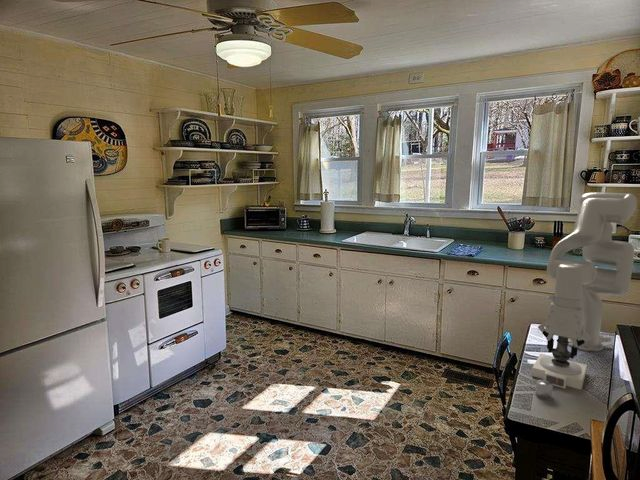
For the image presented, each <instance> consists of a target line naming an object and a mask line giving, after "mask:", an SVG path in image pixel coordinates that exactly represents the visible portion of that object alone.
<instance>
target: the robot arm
mask: <svg viewBox="0 0 640 480" xmlns="http://www.w3.org/2000/svg"><path fill="white" fill-rule="evenodd" d="M636 197H637V196H635V195H634V194H632V193H624V192H598V191H597V192H587V193H586V192H585V193H584V194H582V195H581V197H580V198H579V209H578V213H577V216H576V219H575V222H574V225H573V228H572V229H573V230H572V232H571V233H570V234H568V235H566V236H565V237H563V238H562V239H560V240H559V241H558V242H557V243H556V244H555V246H553V247H552V250H551V252H550V254H549V255H550V256H549V258H548V262H547V266H546V273H547V276H548V277H549V278H551V279H552V280H555V284H554V294H553V295H549V296H548V300H551V301H552V302H551V303H550V304H549V308H548V310H547V315H546V321H544V322H542V323H540V324H539V325H538V326H537V328H538V329H539V331H540V332H541V333H542V335H543V336H544V337H545V339H546V340H547V343H546V344H547V345H546V349H548V351H547V353H552V351H551V350H552V349H554V345H555V343H554V342H555V339H554V336H557V337H558V336H561V337H565V338H568V342H569V343H568V346H570V347H571V348H570V349H571V350H570V352H571V356H570V358H571V359H574V358H575V357H577V356H578V350H582V351H586V352H600V351H602V350H603V349H604V345H603V344H602V343H604V342H605V343H611V342H612V337H611V336H603V335H602V334H601V327H602V318H603V311H604V302H603V300H602V298H601V297H600V295H599V294H603V295H609V296H614V297H615V296H616V297H623V296H626V295H627V294H628V293H629V291H630V286H631V279H632V274H633V273H632V272H633V267H634V261H635V248H634V246H633V244H631V243H630V242H628V241H621V240H613V239H612V238H613V231H614V227H613V224H625V223H626V222H628V221H629V219H631V217H633V214H634V213H635V211H636V209H637V204H638V203H637V198H636ZM612 223H613V224H612ZM579 248H582V259H583V260H584V261H583V260H582V261H581V260H575V259H568V258H562V257H563V256H564V255H565V254H566V253H568V252H569V251H572V250H575V249H579ZM595 264H596V265H604V266H611V267H615V268H616V269H612V268H604V267H597V266H595Z"/></svg>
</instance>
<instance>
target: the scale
mask: <svg viewBox="0 0 640 480" xmlns="http://www.w3.org/2000/svg"><path fill="white" fill-rule="evenodd" d="M552 359H554V357H553V355H548V354H545V353H544V354H543V353H539V356H538V357H537V359H536V361H535V362H534V364H533V366H532V367H531V368H532V369H531V377H534V378H537V379H540V380H546V381H549V382H551V383H552V384H553V387H554V386H555V387H556V388H557V387H558V388H561V389H565V390H566V388H567V387H570V388H574V389H577V390H582V389H583V385H584V382H585V379H586V375H587V369H588V364H585V363H580V362H577V361H572V360H570V359H569V360H567V361H568V362H569V363H570V365H569V366H561V365H557V364H555V363H553V362H552V361H551V360H552Z"/></svg>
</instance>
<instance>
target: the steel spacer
mask: <svg viewBox="0 0 640 480" xmlns="http://www.w3.org/2000/svg"><path fill="white" fill-rule="evenodd" d="M535 382H536V383H535V392H534V395H535V396H536V397H538V398H539V399H542V400H546V401H547V400H551V399H552V398H553V390H554V389H553V388H554V385H553V384H552V383H551V382H549V381H546V380H544V379H538V380H536V381H535Z"/></svg>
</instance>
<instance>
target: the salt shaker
mask: <svg viewBox="0 0 640 480" xmlns="http://www.w3.org/2000/svg"><path fill="white" fill-rule="evenodd" d="M568 343H569V342H568V338H565V337H561V336H557V339H556V347H555V348H553V349H552V350H551V351H552V352H551V354H552V356H553V357H554V359H552V360H551V361H552V362H553V363H555V364H557V365H561V366H569V365H570V363H569V362H568V361H567V360H570V356H571V351H569V350H568V346H569V345H568Z"/></svg>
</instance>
